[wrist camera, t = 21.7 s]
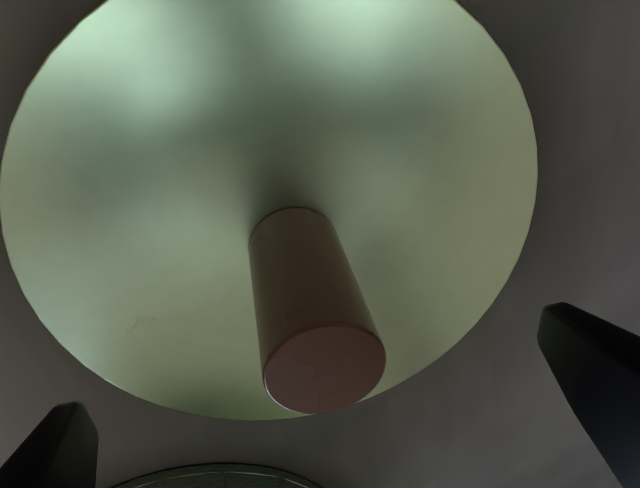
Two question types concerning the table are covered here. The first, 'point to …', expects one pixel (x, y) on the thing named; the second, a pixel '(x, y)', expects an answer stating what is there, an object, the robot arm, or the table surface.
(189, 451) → the table surface
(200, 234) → the lid
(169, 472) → the pot
